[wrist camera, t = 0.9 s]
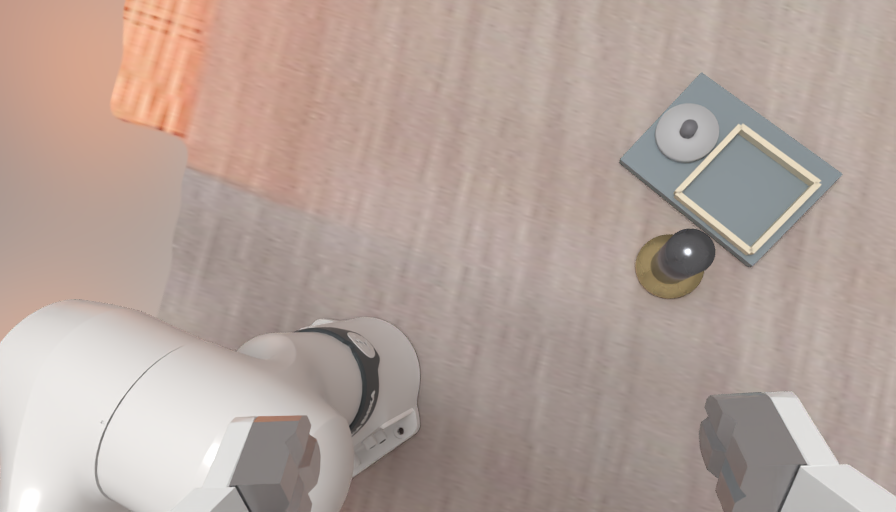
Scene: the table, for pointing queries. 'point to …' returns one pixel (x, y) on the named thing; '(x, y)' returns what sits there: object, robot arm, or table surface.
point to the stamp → (674, 263)
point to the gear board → (729, 169)
